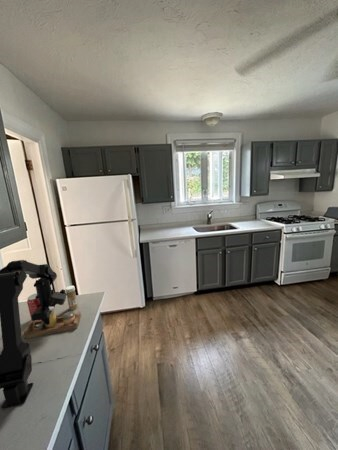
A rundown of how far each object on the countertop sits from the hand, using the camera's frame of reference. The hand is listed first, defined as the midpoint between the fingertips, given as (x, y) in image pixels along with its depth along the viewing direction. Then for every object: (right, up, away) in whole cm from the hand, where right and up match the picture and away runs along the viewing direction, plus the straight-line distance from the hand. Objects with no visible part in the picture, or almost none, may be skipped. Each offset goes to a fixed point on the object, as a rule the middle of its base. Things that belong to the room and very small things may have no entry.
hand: (50, 321), depth 94 cm
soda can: (-11, -4, +10) cm, 15 cm away
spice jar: (+8, -3, +2) cm, 9 cm away
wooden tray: (+2, -4, +1) cm, 5 cm away
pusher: (-4, -4, 0) cm, 6 cm away
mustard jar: (0, -2, 0) cm, 2 cm away
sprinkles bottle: (+4, -1, +16) cm, 16 cm away
